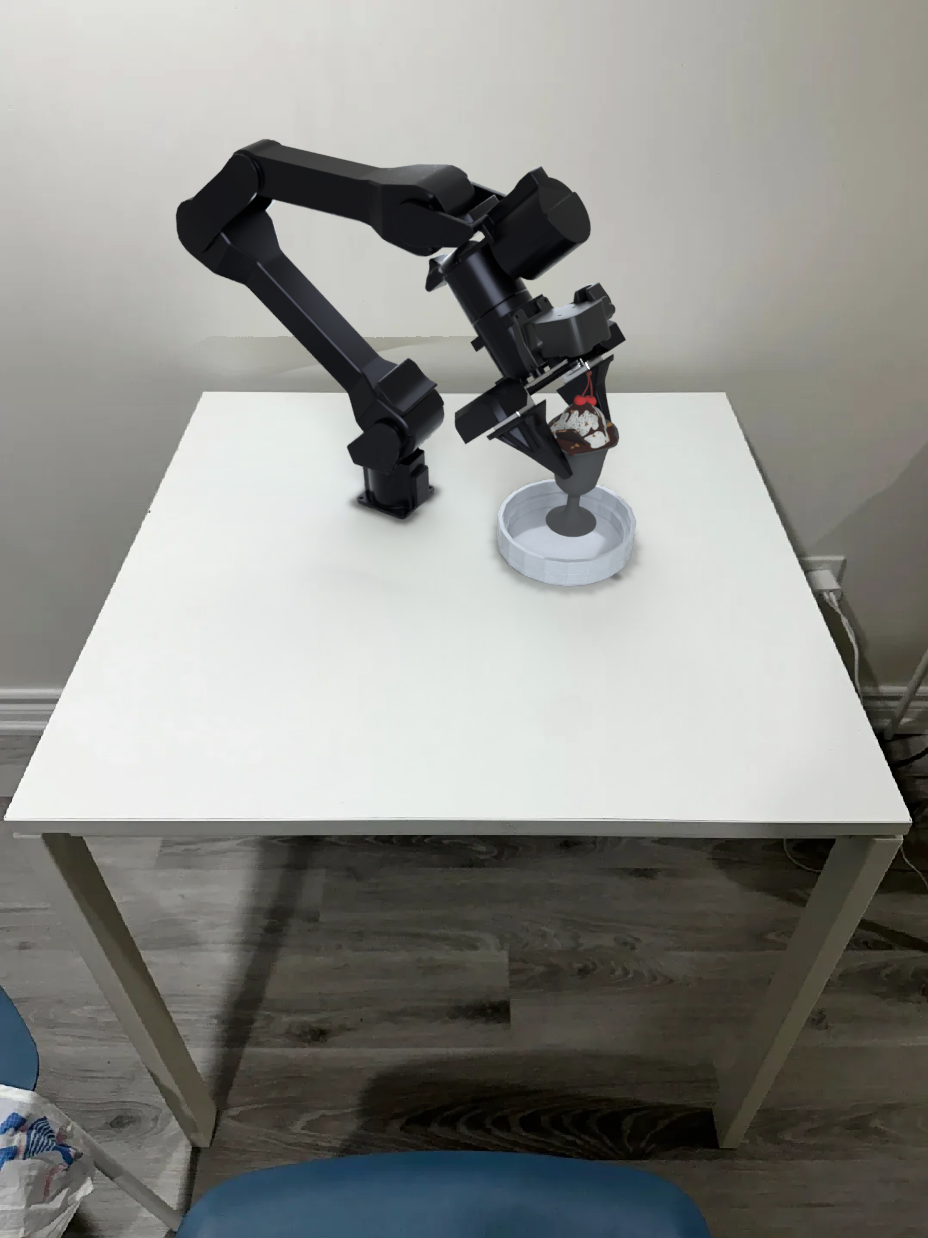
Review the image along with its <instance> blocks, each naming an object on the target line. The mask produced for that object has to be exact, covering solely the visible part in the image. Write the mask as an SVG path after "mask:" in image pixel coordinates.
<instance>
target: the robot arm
mask: <svg viewBox="0 0 928 1238" xmlns="http://www.w3.org/2000/svg"><path fill="white" fill-rule="evenodd" d="M276 201H277V202H281V203H286V204H289V205H293V206H296V207H300V208H304V209H308V210H312V211H315V212H320V213H323V214H328V215H331V216H334V217H335V216H336V217H339V218H343V219H347V220H350V221H355V222H357V223H361V224H363V225H365V226H368V227H370V228H372V230H373V231H374V232H375V233H376V234H377V235H378V236H379V238H380V239H382V241H384V242H385V243H387V244H390V245H391V246H394V247H396V248H398V249H400V250H402V251H404V252H407V253H408V254H410V255H413V256H416V257H422V258H427V257H430V258H429V259H428V271H427V274H426V278H425V284H424V289H425V291H426V292H427V293H431V292H433V291H436V290H438V289H440V288H443V287H445V286H447V287H448V289H449V291H450V292H451V294H452V296H453V297H454V299H455V300H456V303H457V304H458V305H459V307H460V309H461V311H462V312H463V315H465V317H466V319H467V321H468V322H469V324H470V325H471V327H472V329H473V330H474V332H475V334H476V335H477V336H476V337H474V339H472V340H471V341H470V342H469V343H470V345H471V346H472V349H474V351H475V353H478V352H479V351H481V350H483V349H485V351H486V352H487V354H488V356H489V357H490V359H491V360H492V362H493V364H494V365H495V367H496V369H497V370H498V372H499V374H500V376H501V377H500V378H499V379H498V380H496V381H495V382H494V384H495V385H493V386H492V387H491V388H489V389H487V390H486V391H484V392H483V393H481V394H480V395H478V396H477V397H475V398H474V399H472V400H471V401H470V402H468V403H467V404H465V405H464V406H462V407H461V408H460V409H458V410H457V411H455V412H454V428H455V430H456V432H457V433H458V435H459V436H460V438H461V440H462V441H463V443H464V445H467V444H469V443H470V442H472V441H474V440H476V439H477V438H478V437H480V436H482V435H483V434H485V433H486V432H488V431H489V430H491V429H494V430H493V431H492V432H490V433H489V434H488V435H486V436H485V437H486V438H487V440H488V441H492V440H494V439H497V440H498V441H500V442H502V443H503V444H506V445H507V446H509V447H511V448H513V449H515V450H517V451H518V452H520V453H522V454H524V455H525V456H526V457H528V458H530V459H531V460H533V461H535V462H536V463H538V464H539V465H541V466H542V467H544V468H545V469H547V470H548V471H550V472H551V473H553V475H554V474H556V475H557V476H559V477H560V478H562V479H563V480H566V479H568V478H570V477H571V476H573V472H572V470H571V467H570V465H569V463H568V460H567V458H566V456H565V455H564V453H563V451H562V449H561V447H560V446H559V444H558V442H557V440H556V438H555V436H554V435H553V433H552V431H551V429H550V427H549V426H548V422H547V399H546V398H545V399H543V400H542V401H539V402H538V403H535V401H534V400H533V397H532V396H533V395H534V394H536V393H537V392H540V391H541V390H542V389H544V388H546V387H547V386H549V385H550V384H551V383H553V382H554V381H556V380H558V379H561V381H562V384H563V385H561V386H559V387H558V388H557V389H555V391H556V393H557V394H558V395H559V396H560V398H561V399H562V400H563V401H564V402H565V404H566V405H567V407H568V406H570V405H572V404H573V403H574V399H575V397H576V396H577V395H582V394H583V392H584V391H585V389H586V387H587V384H588V377H587V374H586V373H587V372H589V371H591V372H592V374H591V375H590V379H591V383H592V390H593V397H595V399H596V405H595V407H596V408H598V409H599V410H600V411H601V412H602V414H603V415H604V416H605V417H604V418H605V419H607V420H609V421H611V422H612V423H613V421H612V417H611V412H610V406H609V401H608V397H607V388H606V378H607V375H608V371H609V368H610V365H611V363H612V362H614V361H615V360H614V359H615V355H614V353H612V354H610V355H609V356H607V357H606V358H604V359H603V357H602V356H603V355H605V354H607V353H609V352H610V351H612V350H613V349H615V348H616V347H618V346H620V345H621V344H623V343H624V342H625V341H627V339H626V337H625V335H624V334H623V332H622V330H621V328H620V327H619V325H618V323H617V322H616V321H614V320H611V319H612V318H613V316H614V314H615V313H616V306H615V305H614V304H613V302H612V300H611V297H610V295H609V294H608V293H607V290H605V289H604V287H603V286H602V284H601V283H600V282H599V281H598V282H592V283H588V284H585V285H584V286H581V287H579V288H578V289H577V290H575V291H574V293H573V300H572V301H570V302H567V303H566V304H564V305H561V306H557V307H554V306H553V305H552V302H551V301H550V299H549V298H548V297H547V296H544V295H543V293H541V294H539V295H537V296H535V297H533V296H532V294H531V293H530V290H528V288H527V286H526V284H525V282H524V281H523V280H526V281H535V280H538V279H539V278H540V277H542V276H543V275H544V274H546V273H547V272H548V271H549V270H551V269H552V268H553V267H554V266H556V265H557V264H558V263H560V262H561V261H563V260H564V259H565V258H566V257H568V256H569V255H570V254H572V253H573V252H574V251H575V250H577V249H579V247H580V246H582V245H583V244H584V243H586V242H587V241H588V240H589V238H590V236H591V231H592V225H591V224H592V223H591V219H590V215H589V212H588V210H587V207H586V206H585V204H584V202H583V200H582V199H581V197H580V196H579V194H578V193H577V192H576V191H573V190H571V188H569V186H568V185H566V184H565V183H564V182H563V181H561V180H559V179H557V178H554V177H551V176H549V175H548V174H547V172H546V170H545V169H544V167H543V166H542V165H537V166H535V167H534V168H532V169H531V170H529V171H528V172H526V174H524V176H522V178H520V179H519V180H518V181H517V183H516V184H515V186H514V188H513V189H512V190H511V191H510V192H508V193H507V194H506V193H503V192H501V191H499V190H495V189H493V188H490V187H487V186H485V185H483V184H480V183H477V182H475V181H473V180H470V179H469V177H468V174H467V172H466V171H464V170H462V168H460V167H458V166H456V165H453V164H447V163H445V164H444V163H442V164H440V163H438V164H437V163H436V164H435V163H432V164H431V163H417V164H409V165H402V166H395V167H378V166H376V165H375V166H374V165H370V164H365V163H361V162H358V161H357V162H356V161H353V160H349V159H345V158H340V157H335V156H332V155H326V154H323V153H318V152H314V151H309V150H305V149H301V148H296V147H292V146H288V145H284V144H281V142H279V141H277V140H275V139H270V138H262V139H259V140H257V141H255V142H253V143H250V144H248V145H246V146H242V147H241V148H239V149H237V150H236V151H234V152H233V153H232V154H231V157H229V158H228V160H227V161H226V163H225V164H224V165H223V167H222V168H221V169H220V171H219V172H217V174H216V175H215V176H213V178H211V179H210V181H208V182H207V183H206V184H205V185H204V186H203V187H202V188H201V189H200V190H199V191H197V193H196V194H195V195H193V196H192V197H189V198H188V199H185V200H183V201H181V202H180V203H179V205H178V207H177V208H176V212H175V227H176V234H177V238H178V240H179V242H180V244H181V245H182V246H183V247H184V249H185V251H186V252H187V253H188V254H190V255H191V256H192V257H193V258H194V259H196V260H197V262H199V263H200V264H202V265H203V266H204V267H205V268H206V269H208V270H209V271H210V272H211V273H213V274H214V275H216V276H218V277H221V278H224V279H227V280H230V281H231V282H234V283H237V284H240V285H242V286H244V287H246V288H247V289H248V290H250V292H251V293H252V294H253V295H254V296H255V297H256V298H257V299H258V301H260V302H261V303H262V305H264V306H265V307H266V308H267V309H268V311H269V312H270V313H271V314H272V315H273V316H274V317H275V318H276V319H277V320H278V321H279V322H280V324H281V325H283V326H284V328H286V330H287V331H289V333H290V334H291V335H292V336H293V337H294V338H295V339H296V340H297V341H298V342H299V344H301V346H303V347H304V348H305V350H307V351H308V353H310V355H311V356H312V357H313V358H314V359H315V360H316V361H317V362H318V363H319V365H320V366H322V367H323V369H324V370H325V371H327V373H328V374H329V375H330V376H331V377H332V378H333V380H335V381H336V382H337V383H338V384H339V385H340V387H342V388H343V390H344V391H345V392H346V393H347V395H348V398H349V402H350V406H351V409H352V413H353V417H354V420H355V423H356V424H357V426H358V427H359V428H360V430H361V431H362V432H360V434H359V435H358V436H356V437H355V438H354V439H353V440H352V441H351V442H350V443H348V444H347V446H346V450H347V452H348V455H349V456H350V459H351V461H352V463H353V464H354V465H356V466H360V467H362V475H363V484H364V491H362V492H361V493H360V494H359V495H358V496H357V497H356V503H357V504H359V505H362V506H365V507H367V508H370V509H373V510H375V511H378V512H380V513H384V514H385V515H389V516H390V517H391V516H392V517H394V518H397V519H398V520H399V519H400V520H405V519H407V518H409V517H410V515H411V514H413V512H415V510H416V509H418V508H419V507H420V506H421V505H422V504H423V503H424V502H426V500H427V499H429V498H430V496H431V495H432V494H433V493H434V492H435V486H434V485H431V484H430V477H429V476H430V474H429V473H430V472H429V466H428V465H427V464H426V452H425V450H424V449H423V448H422V449H421V448H420V447H421V445H422V444H423V443H424V442H425V441H427V440H428V439H429V438H431V437H432V435H433V434H434V433H435V432H436V431H437V430H438V429H439V428H440V427H441V426H442V424H443V423H444V419H445V415H446V414H445V407H444V406H445V401H444V399H443V397H442V395H441V394H440V393H439V392H438V390H437V389H436V388H437V387H438V383H436V382H435V381H434V380H431V379H430V378H429V377H428V376H427V375H425V373H424V371H422V370H421V368H420V367H419V366H418V364H417V363H416V361H414V360H413V359H411V358H410V357H406V358H405V359H403V360H402V361H401V362H400V363H395V362H394V361H390V360H387V359H385V358H383V357H382V356H381V355H380V354H379V353H378V351H376V350H375V349H374V348H373V347H372V346H371V345H370V344H369V342H368V341H367V340H366V339H365V338H364V337H363V335H361V334H360V333H359V331H357V330H356V329H355V328H354V327H353V325H352V324H351V323H350V322H349V321H348V320H347V319H346V318H345V317H344V316H343V314H341V313H340V312H339V310H337V308H336V307H335V306H334V305H333V304H332V303H331V302H330V301H329V300H328V298H326V297H325V295H324V294H323V293H322V292H321V291H320V290H319V289H318V288H317V287H316V286H315V285H314V284H313V283H312V281H310V279H309V278H307V276H306V275H305V274H304V273H303V272H302V271H301V270H300V269H299V268H298V267H297V265H295V264H294V262H293V261H292V260H291V259H290V258H289V257H288V256H287V255H286V254H285V252H284V251H283V250H282V248H281V244H280V241H279V238H278V234H277V230H276V226H275V223H274V221H273V219H272V217H271V216H270V215H269V213H268V212H267V211H268V210H269V209H270V208H271V207H272V206H273V204H274V203H275V202H276ZM480 233H481V234H482V235H483V236H484V237H483V238H482V239H481V240H480V241H479V240H476V239H473V238H474V237H476V236H477V235H479V234H480ZM442 249H454V250H452V252H450V253H449V254H446V253H440V254H437V255H435V256H433V255H434V254H436V253H438V252H439V251H441V250H442ZM431 256H433V257H431ZM547 367H548V368H549V370H547V371H546V370H545V369H546V368H547ZM529 378H532V379H533V380H531V381H529V380H528V379H529ZM588 395H590V396H591V388H590V381H589V385H588V388H587V390H586V392H585V394H584V397H585V396H588Z"/></svg>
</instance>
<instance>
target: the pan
mask: <svg viewBox="0 0 928 1238" xmlns="http://www.w3.org/2000/svg"><path fill="white" fill-rule="evenodd" d="M567 498H568V494H566V493H565V492H563V491H562V490H561V489H560V488H559V487H558V485H557V484H556V482H555V478H552V479H551V478H550V479H543V480H539V481H536V482H531V483H528V484H525V485H523V486H521V487H520V488H518V489H516V490H514V491H512V492H511V493H510V494H509V495H508V496H507V497H506V498H505V499H504V500H503V501H502V502H501V504H500V507H499V511H498V514H497V528H496V529H497V531H496V533H497V534H496V538H497V546H498V551H499V553H500V555H501V556H502V557H503V559H504V560H505V561H506V563H507V564H508V565H509V566H510V567H511V568H513V569H514V570H516V571H517V572H518V573H520V574H521V575H523V576H525V577H528V578H530V579H532V580H535V581H538V582H540V583H544V584H550V585H554V586H555V585H556V586H562V587H563V586H565V587H570V586H571V587H573V586H575V587H576V586H585V585H586V586H587V585H592V584H594V583H598V582H601V581H605V580H607V579H609V578H611V577H612V576H614V575H615V574H616V573H618V572H619V571H621V570H622V569H623V568H624V567H625V566H626V564H627V563H628V562H629V560H630V558H631V556H632V551H633V546H634V541H635V540H634V539H635V533H636V525H637V519H636V516H635V514H634V511H633V508H632V507H631V506H630V505H629V503H627V501H626V500H625V499H624V498H622V496H620V495H619V494H617V493H616V492H614V491H612V490H611V489H609V488H607V487H605V486H603V485H600V484H598V483H597V484H596V486H595V488H594V489H593V490H591V491H590V492H588V493H586V494H584V495H581V496H580V502H579V506H580V507H583V508H585V509H587V510H589V511H590V512H591V513H592V514H593V515H594V516H595V518H596V523H597V524H596V527H595V529H594V530H593V531H592V532H590V533H589V534H587V535H584V536H580V537H566V536H562V535H559V534H557V533H555V532H554V531H552V530H551V529H550V528H549V527H548V525H547V524H546V516H547V514H548V512H549V511H550V510H552V509H553V508H555V507H558V506H562V505H566V504H567Z"/></svg>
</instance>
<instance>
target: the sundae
mask: <svg viewBox="0 0 928 1238" xmlns="http://www.w3.org/2000/svg"><path fill="white" fill-rule="evenodd" d="M586 374H587V377H588V384H587V387H586V389H585V391H584V392H583V394H582V395H577V396H576V397H575V399H574V403H573V404H572V405H570V406H568V405H567V407H566V408H565V409H564V410H563V411H562V412H561V413H559V414H558V415H556V416H555V417H553V418H552V419H551V420H549V422H547V424H548V426H549V427H550V429H551V431H552V433H553V435H554V436H555V438H556V440H557V442H558V444H559V446H560V447H561V449H562V451H563V453H564V455H565V456H566V458H567V460H568V463H569V465H570V467H571V470H572V472H573V476H571V477H570V478H568V479H566V480H563V479H562V478H560V477H559V476H557V475H556V474H554V473H553V476H554V479H555V482H556V484H557V485H558V487H559V488H560V489H561V490H562V491H563V492H565V493H566V494H568V498H567V504H566V505H562V506H558V507H555V508H553V509H552V510H550V511H549V512H548V514H547V516H546V524H547V525H548V527H549V528H550V529H551V530H552V531H554V532H555V533H557V534H559V535H562V536H566V537H580V536H584V535H587V534H589V533H590V532H592V531H593V530H594V529H595V527H596V524H597V523H596V518H595V516H594V515H593V514H592V513H591V512H590V511H589V510H587V509H585V508H583V507H580V506H579V502H580V496H581V495H584V494H586V493H588V492H590V491H591V490H593V489H594V488H595V486H596V484H597V485H598V482H599V479H600V476H601V474H602V471H603V468H604V465H605V460H606V458H607V457H606V456H607V454H608V452H609V450H610V449H613V448H615V447H617V446H618V444H619V441H620V433H619V429H618V427H617V425H616V424H615V423H614V422H613V421H612V420H611V421H612V422H611V421H609V420H607V419H605V418H604V417H605V416H604V415H603V414H602V412H601V411H600V410H599V409H598V408H596V407H595V405H596V399H595V397H593V390H592V383H591V379H590V375H591V374H592V372H591V371H589V372H587V373H586ZM589 381H590V388H591V396H590V395H588V396H585V397H584V394H585V392H586V390H587V388H588V385H589Z"/></svg>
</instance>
